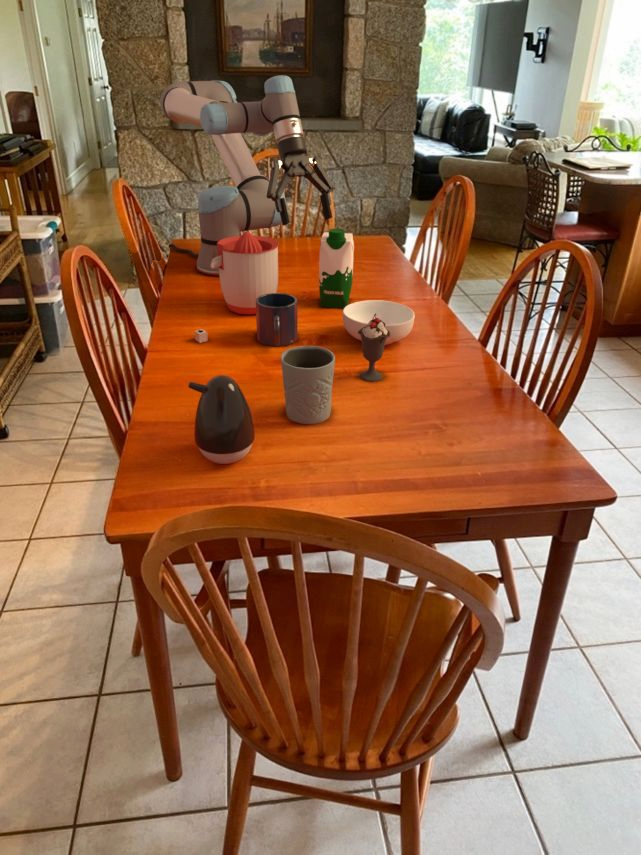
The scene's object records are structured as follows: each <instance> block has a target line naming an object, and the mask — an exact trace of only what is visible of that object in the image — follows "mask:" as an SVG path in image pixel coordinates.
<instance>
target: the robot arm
mask: <svg viewBox="0 0 641 855" xmlns="http://www.w3.org/2000/svg"><path fill="white" fill-rule="evenodd" d="M263 87H264V94H265V96H264V97H263V98H262V99H261V100H260V101H259V100H258V101H240V102H238V101H237V95H236V92H235V90H234V89H233V87H232V86H231V85H230V84H229V82H226V81H224V80H218V79H212V80H193V81H192V80H191V81H189V80H188V81H187V80H186V81H185V80H184V81H177V82H174V83H171V84H170V85H168V86H166V88H165V89H164V90H163V91H162V93H161V95H160V100H159V102H160V103H159V104H160V109H161V111H162V113H163V115H164V116H165V117H166V118H167V119H168V120H169V121H172V122H174V123H177V124H186V123H187V124H192V125H195V126H198V127H201V128H202V130H203V131H204V133H205V134H206V135H210V136H211V138H212V141H213V142H214V145H215V148H216V149H217V151H218V153H219V156H220V158H221V160H222V162H223V164H224V166H225V168H226V170H227V172H228V174H229V176H230V178H231V180H232V183H233V185H231V184H229V185H227V184H226V185H217V186H212V187H208V188H206V189H204V190H202V191H201V192H200V193H199V195H198V197H197V199H198V200H197V201H198V202H197V205H198V206H197V212H198V220H199V232H200V233H199V234H200V247H199V251H198V253H194V252H193V251H192V250H191V249H188V248H181V247H178V246H176V245H175V244H174V243H169V245H168V248H169V249H171V248H173V249H174V250H176V251H177V252H182V253H189V254H190V255H191V256H192V257H194V258H197V259H196V270H197V271H198V272H199V273H200V274H202V275H207V276H213V277H220V276H219V267H217V268H211V262H212V259H213V258H215V257H218V253H217V243H218V242H219V241H220V240H222V239H225V238H229V237H234V236H241V232H247V231H248V232H250V231H254V230H262V229H271V228H274V227H278V226H280V225H282V227H285V226H287V225H289V224H290V217H289V213H288V209H287V208H288V207H287V200H286V196H285V192H284V191H285V189H286V187H287V185H288V183H289V181H290V178H291V179H292V178H296V177H297V178H301V177H303V178H304V179H307V181H309V182H310V183H311V184H312V185H313V186H314V188H316V189H317V190H318V192H320V194H321V195H319V198H320V203H321V208H322V213H323V218H324V220H325V221H329V220H330V219H332V218H333V212H332V208H331V206H332V197H331V192H332V191H334V190H336V186H335V185H334V183H333V182H332V180H331V178H330V177H329V175H328V174H327V172H326V171H325V169H324V167H323V166H322V164H321V162H320V161H321V160H320V158H319V156H317V155H315V156H313V157H310V158H309V156H308V148H307V144H306V139H305V138H304V131H303V126H302V121H301V115H300V110H299V106H298V100H297V96H296V90H295V86H294V83H293V80H292V78H291V77H290V76H288V75H283V74H282V75H274V76H271V77H270V78H268V79H267V80H266V81H265V82H264V86H263ZM272 132H273V133H274V139H275V142H276V143H277V144H276V147H277V152H278V156H279V158H280V160H279V159H278V158H275V159H273V160H272V161H271V162H270V176H269V178H268V177H267V176H265V175H263V174H261V172H260V171H259V168H258V167H257V165H256V162H255V161H254V157H253V156H252V155H251V152H250V150H249V148H248V146H247V144H246V141H245V140H244V138H243V136H242V134H248V133H249V134H250V133H252V134H254V135H255V136H258V137H265V136H267V135H269V134H271V133H272ZM281 168H282V169H283V170H284V171H283V173H282V176H281V178H280V181H279V175H280V169H281ZM278 181H279V183H278Z"/></svg>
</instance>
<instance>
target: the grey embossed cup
mask: <svg viewBox="0 0 641 855" xmlns="http://www.w3.org/2000/svg"><path fill="white" fill-rule="evenodd" d="M280 365H281V366H280V367H281V374H282V383H283V390H284V402H285V412H286V416H287V418H288V419H289V420H291V422H294V423H297V424H302V425H317V424H321V423H323V422H325V421H327V420H328V419H329V417H330V416H331V413H332V396H333V385H334V384H333V383H334V376H335V375H334V374H335V366H336V356H335V354H334V353H333V351H331V350H329V349H328V348H325V347H321V346H315V345H301V346H295V347H291V348H288V349H286V350H285V351H283V352H282V353H281V355H280Z"/></svg>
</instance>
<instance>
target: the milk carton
mask: <svg viewBox="0 0 641 855" xmlns="http://www.w3.org/2000/svg"><path fill="white" fill-rule="evenodd" d="M353 237H354V236H353V233H352V232H350V233H349V232H346V231H345V229H342V228H329V230H328V232H327V231H326V232H325V231H323V234H322V235H321V240H320V244H319V257H318V258H319V259H318V260H319V261H318V262H319V264H318V265H319V266H318V267H319V268H318V273H319V274H318V292H319V298H320V299H319V300H320V308H331V309H344V308H345V307H346V306H347V305H349V301H350V296H351V293H352V288H353V279H354V278H353V276H354V251H355V242H354V238H353Z"/></svg>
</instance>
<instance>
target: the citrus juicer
mask: <svg viewBox="0 0 641 855" xmlns="http://www.w3.org/2000/svg"><path fill="white" fill-rule="evenodd" d="M279 245H280V243H279V242H278V241H277V240H276V239H274V238H272V237H268V236H263V235H253V234H252V233H251V232H250V231H244V232H243V233H242V234H241V235H240V236H234V237H229V238H225V239H222V240H220V241H219V242H218V243H217V253H218V257H215V258H213V259H212V262H211V268H217V267H219V276H218V277H219V284H220V288H221V292H222V295H223V298H224V302H225V305H226V306H227V308H228V309H229V311H231V312H233V313H236V314H238V315H256V298H258V297H259V296H261V295H264V294H269V293H278V286H279Z"/></svg>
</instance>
